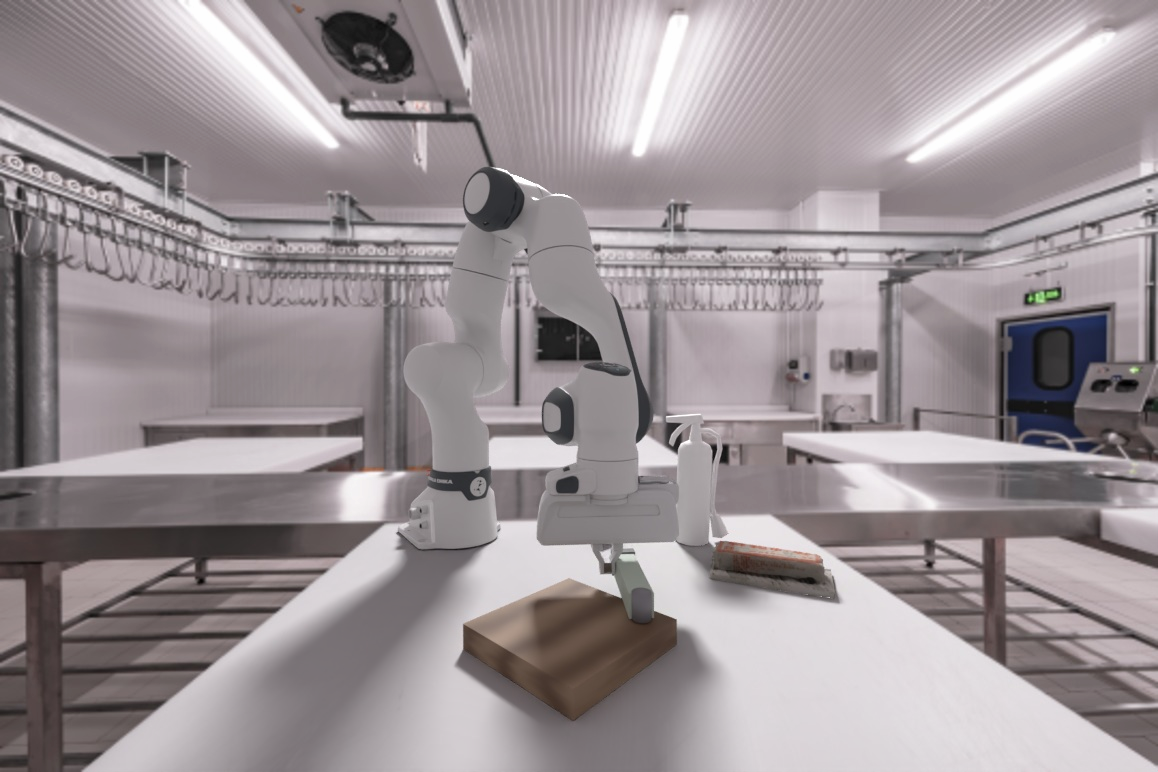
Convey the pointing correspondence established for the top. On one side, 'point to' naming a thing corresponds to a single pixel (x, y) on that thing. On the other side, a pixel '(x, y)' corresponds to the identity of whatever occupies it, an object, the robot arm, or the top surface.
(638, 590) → the hinged leg
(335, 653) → the top surface
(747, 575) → the packaged product
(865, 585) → the top surface
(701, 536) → the fire extinguisher
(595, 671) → the stool seat
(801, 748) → the top surface
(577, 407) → the robot arm
